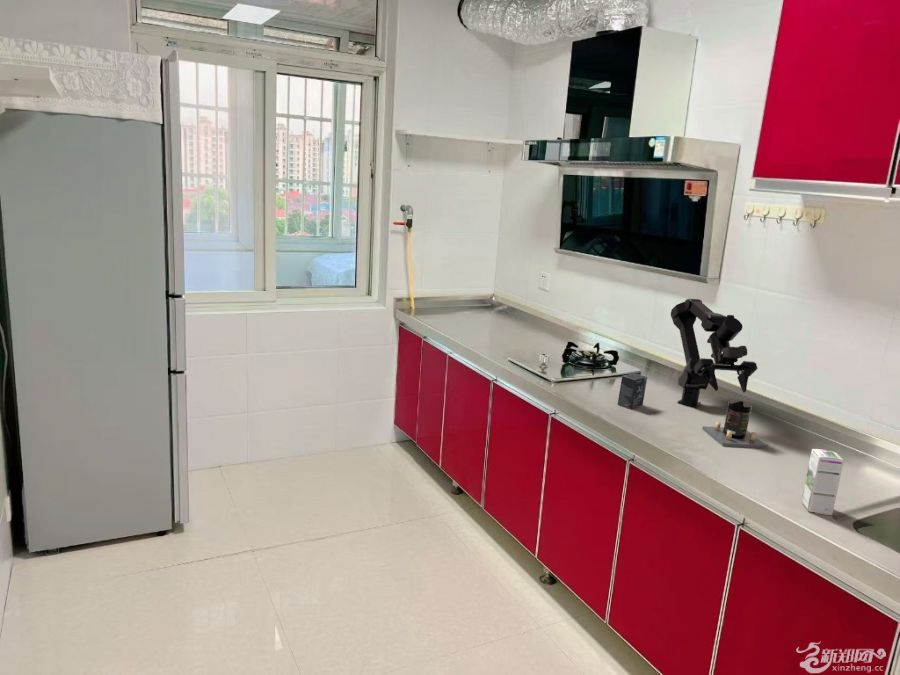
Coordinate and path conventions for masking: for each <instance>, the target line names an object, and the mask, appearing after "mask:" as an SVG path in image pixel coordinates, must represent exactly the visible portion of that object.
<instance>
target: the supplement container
mask: <svg viewBox="0 0 900 675" xmlns="http://www.w3.org/2000/svg"><path fill="white" fill-rule="evenodd" d="M752 407H753V405H752V404H751V403H750V402H747V401H744V400H738V399H730V400H728V403H727V409H726V413H725V419H724V425H723V427H724V429H723V432H724V434H725V435H726V436H727V431H731V432H732V438H736V439H742V438H745V436H746V433H747V431H748V426H749V423H750V416H751V413H752Z"/></svg>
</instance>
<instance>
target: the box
mask: <svg viewBox="0 0 900 675" xmlns="http://www.w3.org/2000/svg"><path fill="white" fill-rule="evenodd" d="M647 382H648V376H645V375H641V374H638V373H635V372H633V373H630V374H625V375H622V376H621V382H620V386H619V387H620V388H619V392H618V393H619V394H618V399H617V400H618V401H617V405H618V406H621V407H624V408H627V409H630V410H632V409H636V408H638V407H641V406H643V405H644V400H645V392H646V388H647Z"/></svg>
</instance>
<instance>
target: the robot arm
mask: <svg viewBox="0 0 900 675" xmlns="http://www.w3.org/2000/svg"><path fill="white" fill-rule="evenodd" d="M670 318H671V320H672V323H673V325H674V326H675V327H676V328H677V329H678V330H679V334H680V338H681V339H680V340H681V344H682V349H683V354H684V359H685V366H684V368H683V371H682V372H683V373H682V374H681V375H680V376H679V377H678V378H677V379H678V383H677V384H678V386H680V387H681V388H682V393H681V399H679V400H677V403H678V404H681V405H685V406H690V407H693V408H697V407H698V406H700V405H701V404H702V402H701V401H699V399H700V394H701V390H707V388H708V386H709V385H710V386H711V387H712V389H713V390H714V391H716V392H717V391H719V386H718V385H719V384H718V381H717V377H716V370H717V371H731V372H736V374H737V375H738V376H737V380H738V382H739V386H740V388H741V391H742V393H746V392H747V388H748V380H749V377H751V376H752V375H753V374H754V373H755V372H756V371H757V370H758V365H757V363H756V362H755V361H747V360H746V361H745V360H743V361H742V362H741V363H740V364H735V363H738V361H739V360H738V359H742V358H743V357H745V356H747V355H748V348H747V346H746V345H740V346H731V345H730V342H732V341H733V340H734V339H735V338H736V336H738V335H739V334H740V332H741V331H742V330H743V324H742V323H741V321H740V320H739V319H737V318H735V315H734V314H727V315H724V314H721V313H717V312H714V311H713V310H712V309H710V308H709V307H708V306H707V305H705V304H704V303H703V301H702V300H701V299H697V298H687V299H686V300H684V301H682V302H680V303H678V304H675V306H674V307H672V309H671V311H670ZM697 319H698V320H699V321H700V322H701V324H700V325H701V327H702V329H703V331H704V332H708V333H711V334H710V335H709V336H708V338H707V340H706V343H707V344H710V347H711V352H712V353H711V355H710V357H711V358H706V357H704V358H701V357H700V353H699V352H700V351H699V347H698V343H697V338H696V333H695V329H694V324H695V322H696V321H697Z"/></svg>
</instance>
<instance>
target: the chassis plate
mask: <svg viewBox="0 0 900 675" xmlns="http://www.w3.org/2000/svg"><path fill="white" fill-rule="evenodd" d="M723 429H724V426H723V427H721V422H720V421H719V422H718V421H716V422H715V426H707V425H706V426H704V425H703V426H702V430H703V431H704V432H705V433H706V434H707V435H709V436H710V437H711V438H712V439H714V441H716V442H717V443H718V444H719V445H720V446H722V447H732V448H747V449H748V448H752V449H768V444H767V443H765V442H764V441H762V440H761V439H760V438H758V437H757V433H756V432H750V431H749V430H747V433H746V436H745V438H742V439H736V438H732V432H731V431H727V436H726V435H725V434H724V432H723Z"/></svg>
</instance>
